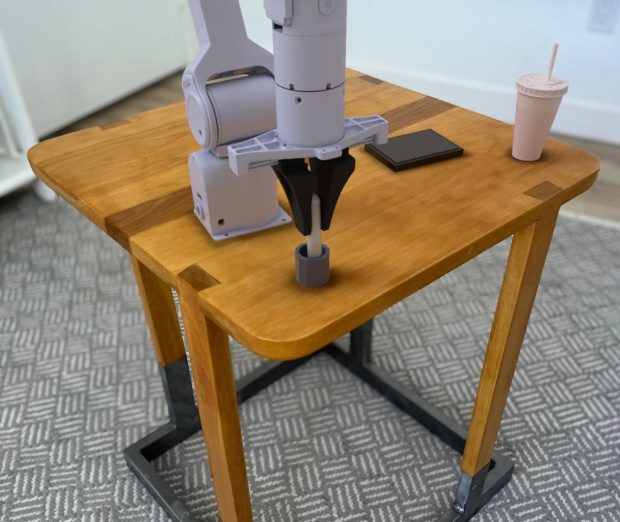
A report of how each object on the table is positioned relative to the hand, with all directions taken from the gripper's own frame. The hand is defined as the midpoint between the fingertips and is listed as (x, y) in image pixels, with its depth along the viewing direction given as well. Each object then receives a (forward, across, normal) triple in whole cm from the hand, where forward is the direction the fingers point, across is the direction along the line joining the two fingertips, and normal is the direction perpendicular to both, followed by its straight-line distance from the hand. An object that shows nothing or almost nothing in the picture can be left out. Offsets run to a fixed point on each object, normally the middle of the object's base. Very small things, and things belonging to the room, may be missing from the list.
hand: (312, 228), depth 59 cm
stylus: (+4, 0, -1) cm, 4 cm away
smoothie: (+6, +39, +13) cm, 42 cm away
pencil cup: (+6, 0, 0) cm, 6 cm away
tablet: (+6, +26, +21) cm, 34 cm away
